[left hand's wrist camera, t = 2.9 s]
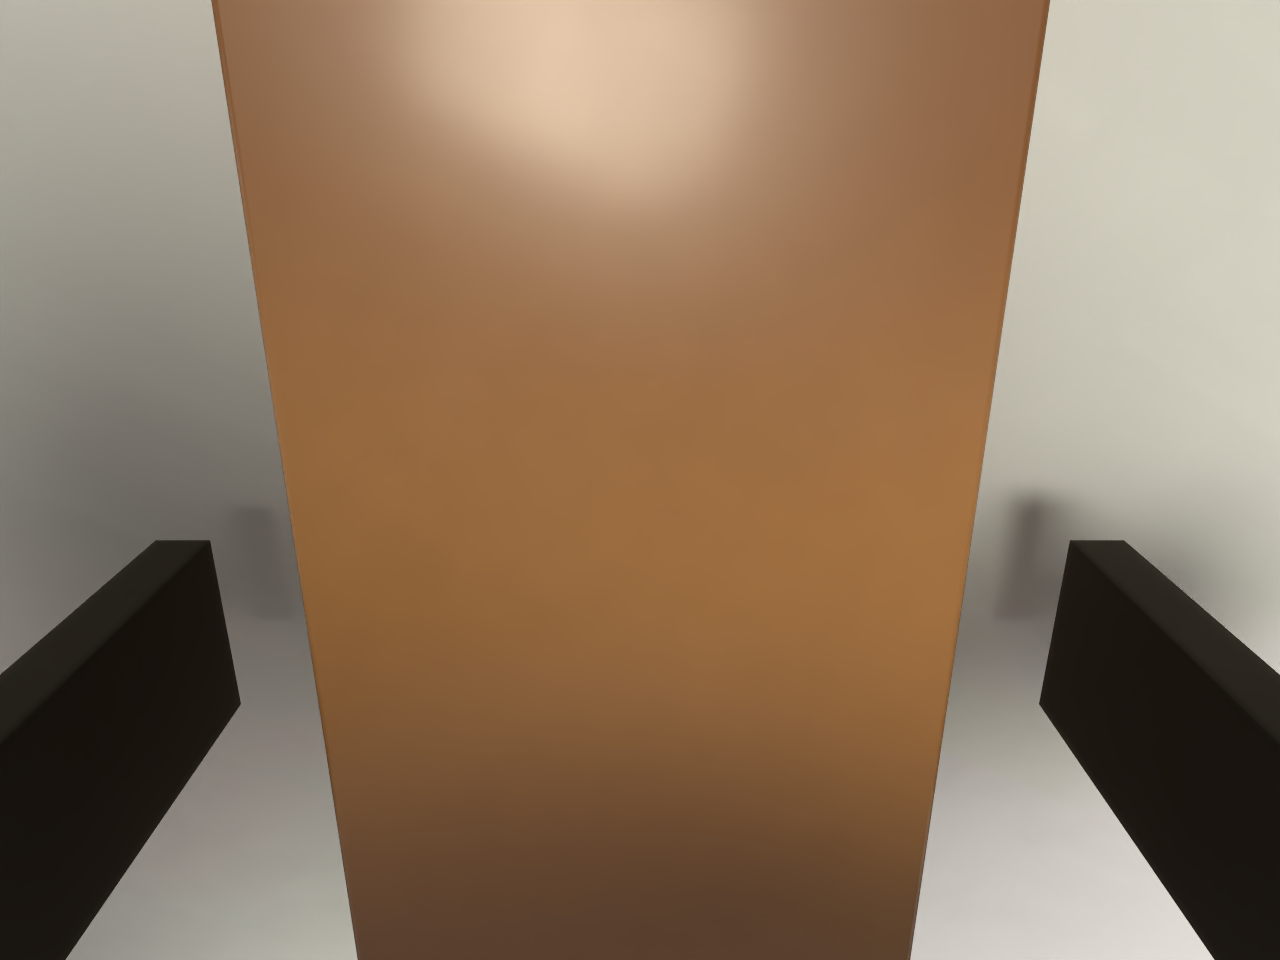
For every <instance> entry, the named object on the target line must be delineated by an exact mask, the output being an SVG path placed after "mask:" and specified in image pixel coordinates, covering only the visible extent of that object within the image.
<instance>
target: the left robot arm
mask: <svg viewBox="0 0 1280 960" xmlns="http://www.w3.org/2000/svg"><path fill="white" fill-rule="evenodd" d="M240 705H241V702H240V697H239V692H238V687H237V681H236V676H235V671H234V665H233V660H232V655H231V650H230V644H229V639H228V634H227V628H226V623H225V618H224V613H223V607H222V602H221V597H220V591H219V586H218V581H217V576H216V570H215V565H214V560H213V554H212V549H211V544H210V540H156V541H155V542H154V543H152V544H151V545H150V546H149V547H148V548H147V549H145V550H144V551H143V552H142V553H141V554H140V555H138V556H137V557H136V558H135V559H134V560H133V561H132V562H130V563H129V564H128V565H127V566H126V567H125V568H123V569H122V570H121V571H120V572H119V573H118V574H116V575H115V576H114V577H113V578H112V579H111V580H110V581H108V582H107V583H106V584H105V585H104V586H103V587H101V588H100V589H99V590H98V591H97V592H96V593H95V594H93V595H92V596H91V597H90V598H89V599H88V600H86V601H85V602H84V603H83V604H82V605H81V606H79V607H78V608H77V609H76V610H75V611H74V612H73V613H71V614H70V615H69V616H68V617H67V618H66V619H64V620H63V621H62V622H61V623H60V624H59V625H57V626H56V627H55V628H54V629H53V630H52V631H51V632H49V633H48V634H47V635H46V636H45V637H44V638H42V639H41V640H40V641H39V642H38V643H37V644H35V645H34V646H33V647H32V648H31V649H30V650H29V651H27V652H26V653H25V654H24V655H23V656H22V657H20V658H19V659H18V660H17V661H16V662H15V663H13V664H12V665H11V666H10V667H9V668H8V669H7V670H5V671H4V672H3V673H2V674H1V675H0V960H66V958H67V957H68V955H69V954H70V952H71V951H72V949H73V948H74V946H75V945H76V943H77V942H78V941H79V939H80V938H81V936H82V935H83V933H84V932H85V930H86V929H87V927H88V926H89V925H90V923H91V922H92V920H93V919H94V917H95V916H96V914H97V913H98V911H99V910H100V909H101V907H102V906H103V904H104V903H105V901H106V900H107V898H108V897H109V895H110V894H111V892H112V891H113V890H114V888H115V887H116V885H117V884H118V882H119V881H120V879H121V878H122V876H123V875H124V874H125V872H126V871H127V869H128V868H129V866H130V865H131V863H132V862H133V860H134V859H135V858H136V856H137V855H138V853H139V852H140V850H141V849H142V847H143V846H144V844H145V843H146V841H147V840H148V839H149V837H150V836H151V834H152V833H153V831H154V830H155V828H156V827H157V825H158V824H159V823H160V821H161V820H162V818H163V817H164V815H165V814H166V812H167V811H168V809H169V808H170V807H171V805H172V804H173V802H174V801H175V799H176V798H177V796H178V795H179V793H180V792H181V790H182V789H183V788H184V786H185V785H186V783H187V782H188V780H189V779H190V777H191V776H192V774H193V773H194V772H195V770H196V769H197V767H198V766H199V764H200V763H201V761H202V760H203V758H204V757H205V756H206V754H207V753H208V751H209V750H210V748H211V747H212V745H213V744H214V742H215V741H216V739H217V738H218V737H219V735H220V734H221V732H222V731H223V729H224V728H225V726H226V725H227V723H228V722H229V721H230V719H231V718H232V716H233V715H234V713H235V712H236V710H237V709H238V707H239V706H240ZM1039 705H1040V706H1041V707H1042V709H1043V710H1044V712H1045V713H1046V715H1047V716H1048V718H1049V719H1050V721H1051V722H1052V723H1053V725H1054V726H1055V728H1056V729H1057V731H1058V732H1059V734H1060V735H1061V737H1062V738H1063V740H1064V741H1065V742H1066V744H1067V745H1068V747H1069V748H1070V750H1071V751H1072V753H1073V754H1074V756H1075V757H1076V758H1077V760H1078V761H1079V763H1080V764H1081V766H1082V767H1083V769H1084V770H1085V772H1086V773H1087V774H1088V776H1089V777H1090V779H1091V780H1092V782H1093V783H1094V785H1095V786H1096V788H1097V789H1098V791H1099V792H1100V793H1101V795H1102V796H1103V798H1104V799H1105V801H1106V802H1107V804H1108V805H1109V807H1110V808H1111V809H1112V811H1113V812H1114V814H1115V815H1116V817H1117V818H1118V820H1119V821H1120V823H1121V824H1122V825H1123V827H1124V828H1125V830H1126V831H1127V833H1128V834H1129V836H1130V837H1131V839H1132V840H1133V842H1134V843H1135V844H1136V846H1137V847H1138V849H1139V850H1140V852H1141V853H1142V855H1143V856H1144V858H1145V859H1146V860H1147V862H1148V863H1149V865H1150V866H1151V868H1152V869H1153V871H1154V872H1155V874H1156V875H1157V877H1158V878H1159V879H1160V881H1161V882H1162V884H1163V885H1164V887H1165V888H1166V890H1167V891H1168V893H1169V894H1170V895H1171V897H1172V898H1173V900H1174V901H1175V903H1176V904H1177V906H1178V907H1179V909H1180V910H1181V911H1182V913H1183V914H1184V916H1185V917H1186V919H1187V920H1188V922H1189V923H1190V925H1191V926H1192V928H1193V929H1194V930H1195V932H1196V933H1197V935H1198V936H1199V938H1200V939H1201V941H1202V942H1203V944H1204V945H1205V946H1206V948H1207V949H1208V951H1209V952H1210V954H1211V955H1212V957H1213V958H1214V960H1280V675H1279V674H1278V673H1277V672H1276V671H1275V670H1273V669H1272V668H1271V667H1270V666H1269V665H1268V664H1267V663H1265V662H1264V661H1263V660H1262V659H1261V658H1260V657H1258V656H1257V655H1256V654H1255V653H1254V652H1253V651H1251V650H1250V649H1249V648H1248V647H1247V646H1246V645H1245V644H1243V643H1242V642H1241V641H1240V640H1239V639H1238V638H1236V637H1235V636H1234V635H1233V634H1232V633H1231V632H1229V631H1228V630H1227V629H1226V628H1225V627H1224V626H1223V625H1221V624H1220V623H1219V622H1218V621H1217V620H1216V619H1214V618H1213V617H1212V616H1211V615H1210V614H1209V613H1207V612H1206V611H1205V610H1204V609H1203V608H1202V607H1201V606H1199V605H1198V604H1197V603H1196V602H1195V601H1194V600H1192V599H1191V598H1190V597H1189V596H1188V595H1187V594H1185V593H1184V592H1183V591H1182V590H1181V589H1180V588H1179V587H1177V586H1176V585H1175V584H1174V583H1173V582H1172V581H1170V580H1169V579H1168V578H1167V577H1166V576H1165V575H1163V574H1162V573H1161V572H1160V571H1159V570H1158V569H1157V568H1155V567H1154V566H1153V565H1152V564H1151V563H1150V562H1148V561H1147V560H1146V559H1145V558H1144V557H1143V556H1141V555H1140V554H1139V553H1138V552H1137V551H1136V550H1135V549H1133V548H1132V547H1131V546H1130V545H1129V544H1128V543H1126V542H1125V541H1124V540H1070V544H1069V549H1068V554H1067V559H1066V565H1065V570H1064V575H1063V581H1062V586H1061V591H1060V596H1059V602H1058V607H1057V612H1056V618H1055V623H1054V628H1053V634H1052V639H1051V644H1050V649H1049V655H1048V660H1047V665H1046V671H1045V676H1044V681H1043V686H1042V692H1041V697H1040V702H1039Z"/></svg>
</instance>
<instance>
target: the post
mask: <svg viewBox="0 0 1280 960" xmlns="http://www.w3.org/2000/svg"><path fill="white" fill-rule="evenodd" d="M211 1H212V7H213V14H214V21H215V27H216V34H217V40H218V47H219V53H220V60H221V66H222V73H223V80H224V86H225V93H226V99H227V106H228V112H229V119H230V125H231V132H232V138H233V145H234V152H235V158H236V165H237V171H238V178H239V184H240V191H241V197H242V204H243V211H244V217H245V224H246V230H247V237H248V243H249V250H250V256H251V263H252V270H253V276H254V283H255V289H256V296H257V302H258V309H259V315H260V322H261V328H262V335H263V342H264V348H265V355H266V361H267V368H268V374H269V381H270V387H271V394H272V401H273V407H274V414H275V420H276V427H277V433H278V440H279V446H280V453H281V459H282V466H283V473H284V479H285V486H286V492H287V499H288V505H289V512H290V518H291V525H292V532H293V538H294V545H295V551H296V558H297V564H298V571H299V577H300V584H301V590H302V597H303V604H304V610H305V617H306V623H307V630H308V636H309V643H310V649H311V656H312V663H313V669H314V676H315V682H316V689H317V695H318V702H319V708H320V715H321V721H322V728H323V735H324V741H325V748H326V754H327V761H328V767H329V774H330V780H331V787H332V794H333V800H334V807H335V813H336V820H337V826H338V833H339V839H340V846H341V853H342V859H343V866H344V872H345V879H346V885H347V892H348V898H349V905H350V911H351V918H352V925H353V931H354V938H355V944H356V951H357V957H358V960H910V956H911V950H912V943H913V936H914V929H915V922H916V915H917V908H918V902H919V895H920V888H921V881H922V874H923V867H924V861H925V854H926V847H927V840H928V833H929V826H930V819H931V813H932V806H933V799H934V792H935V785H936V778H937V771H938V765H939V758H940V751H941V744H942V737H943V730H944V724H945V717H946V710H947V703H948V696H949V689H950V682H951V676H952V669H953V662H954V655H955V648H956V641H957V635H958V628H959V621H960V614H961V607H962V600H963V593H964V587H965V580H966V573H967V566H968V559H969V552H970V545H971V539H972V532H973V525H974V518H975V511H976V504H977V498H978V491H979V484H980V477H981V470H982V463H983V456H984V450H985V443H986V436H987V429H988V422H989V415H990V409H991V402H992V395H993V388H994V381H995V374H996V367H997V361H998V354H999V347H1000V340H1001V333H1002V326H1003V319H1004V313H1005V306H1006V299H1007V292H1008V285H1009V278H1010V272H1011V265H1012V258H1013V251H1014V244H1015V237H1016V230H1017V224H1018V217H1019V210H1020V203H1021V196H1022V189H1023V182H1024V176H1025V169H1026V162H1027V155H1028V148H1029V141H1030V135H1031V128H1032V121H1033V114H1034V107H1035V100H1036V93H1037V87H1038V80H1039V73H1040V66H1041V59H1042V52H1043V46H1044V39H1045V32H1046V25H1047V18H1048V11H1049V4H1050V0H211Z"/></svg>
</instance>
